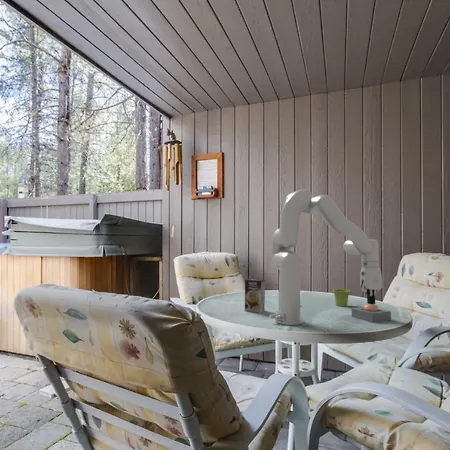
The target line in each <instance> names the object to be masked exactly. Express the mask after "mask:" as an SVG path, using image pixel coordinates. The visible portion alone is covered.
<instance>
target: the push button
mask: <svg viewBox="0 0 450 450" xmlns="http://www.w3.org/2000/svg"><path fill="white" fill-rule="evenodd" d="M378 306H379V305H376V304H373V305H372V304H368V303H367V304H363V307H364V310H366V311H370V312H375V311H378V309H379V307H378Z"/></svg>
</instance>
